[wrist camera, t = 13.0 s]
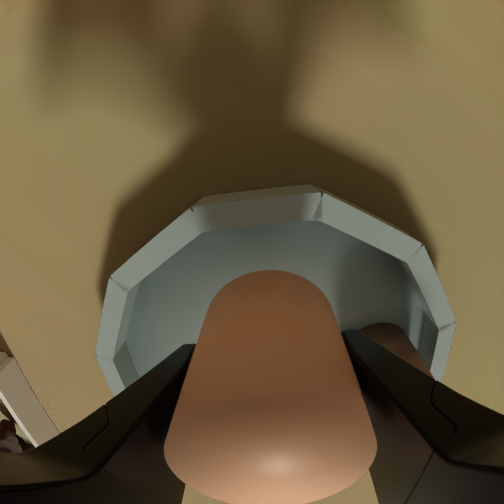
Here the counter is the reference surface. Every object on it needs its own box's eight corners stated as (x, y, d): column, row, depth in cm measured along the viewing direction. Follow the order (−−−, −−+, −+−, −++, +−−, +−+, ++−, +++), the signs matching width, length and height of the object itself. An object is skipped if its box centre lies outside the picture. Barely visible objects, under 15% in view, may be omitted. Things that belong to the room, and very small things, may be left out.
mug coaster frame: (12, 353, 18) (-9, 374, 15) (91, 474, 23) (82, 495, 20) (-58, 340, 19) (-74, 354, 16) (8, 446, 24) (-2, 462, 21)
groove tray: (440, 176, 13) (477, 185, 10) (404, 430, 19) (417, 461, 16) (81, 216, 15) (45, 233, 12) (167, 450, 20) (158, 482, 17)
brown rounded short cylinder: (412, 316, 15) (454, 376, 10) (403, 374, 16) (433, 435, 11) (339, 328, 15) (364, 397, 10) (337, 386, 16) (354, 455, 12)
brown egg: (334, 371, 10) (363, 496, 5) (217, 381, 10) (194, 506, 6) (332, 262, 9) (392, 381, 4) (193, 277, 9) (133, 399, 4)
